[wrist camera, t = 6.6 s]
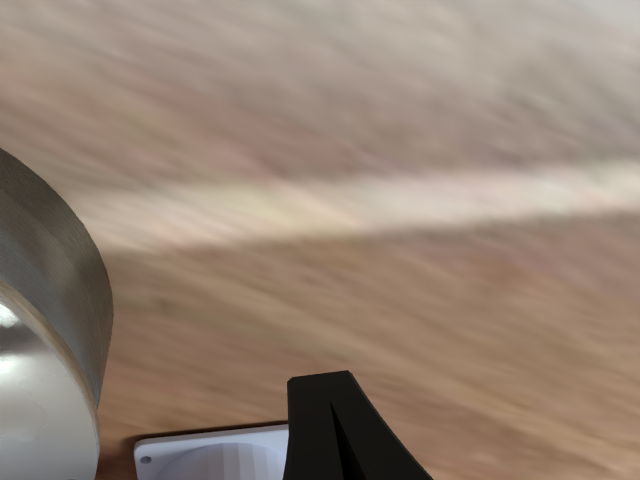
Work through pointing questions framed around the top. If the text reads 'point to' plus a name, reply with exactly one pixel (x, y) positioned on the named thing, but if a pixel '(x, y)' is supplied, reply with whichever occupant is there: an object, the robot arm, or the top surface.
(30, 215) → the cooker pot
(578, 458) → the top surface
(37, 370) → the cooker lid
